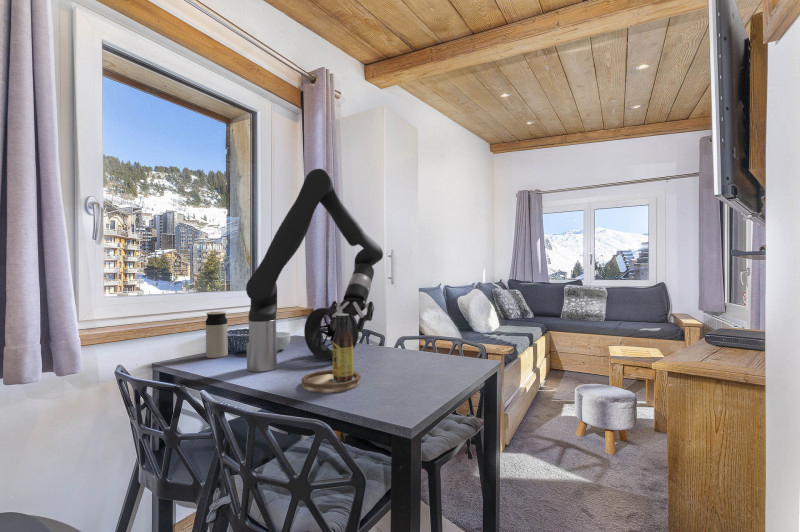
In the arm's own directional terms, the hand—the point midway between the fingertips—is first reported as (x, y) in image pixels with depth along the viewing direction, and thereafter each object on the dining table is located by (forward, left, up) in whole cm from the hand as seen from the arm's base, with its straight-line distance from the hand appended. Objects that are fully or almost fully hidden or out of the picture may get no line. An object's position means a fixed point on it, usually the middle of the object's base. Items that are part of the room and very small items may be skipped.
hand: (345, 329), depth 123 cm
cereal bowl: (-43, +47, -16) cm, 66 cm away
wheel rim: (-13, +34, -16) cm, 40 cm away
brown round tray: (-4, -2, -16) cm, 17 cm away
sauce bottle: (0, -2, -15) cm, 15 cm away
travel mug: (-61, +36, -16) cm, 73 cm away
